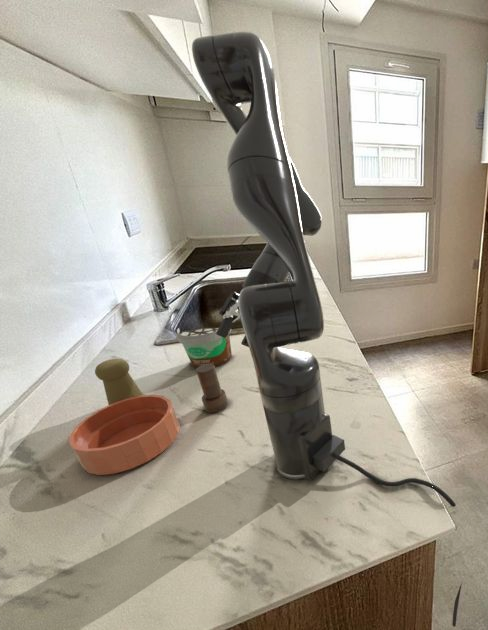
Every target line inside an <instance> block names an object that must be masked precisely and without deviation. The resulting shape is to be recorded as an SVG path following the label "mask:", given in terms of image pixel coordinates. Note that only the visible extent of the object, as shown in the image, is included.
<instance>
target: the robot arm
mask: <svg viewBox="0 0 488 630" xmlns="http://www.w3.org/2000/svg"><path fill="white" fill-rule="evenodd" d="M191 52H192V53H191V54H192V59H193V62H194V65H195V68H196V70H197V73H198V75H199V77H200V79H201V82H202V84H203V85H204V87H205V89H206V91H207V93H208V94H209V96H210V97H211V99H212V101H213V102H214V104H215V105H216V107H217V108H218V110H219V111H220V113H221V115H222V116H223V118H224V119H225V120H226V122H227V123H228V125H229V127H230V128H231V130H232V131H233V133H234V134H235V138H234V139H233V142H232V143H231V145H230V149H229V151H228V154H227V158H226V159H227V160H226V170H227V175H228V182H229V187H230V194H231V200H232V202H233V205H234V207H235V208H236V210H237V212H238V213H239V215H240V216H241V217H242V218H243V220H244V221H245V222H246V223H247V224H248V225H249V226H250V227H251V228H252V229H253V230H254V231H255V232H256V233H257V234H258V235H259V236H260V237H261V238H262V239H263V240H264V241H265V242H266V245H265V247H264V248H263V250H262V252H261V253H260V255H259V256H258V257H257V259H256V260H255V262H254V263H253V266H252V267H251V269H250V271H249V273H248V274H247V276H246V278H245V279H244V282H243V283H242V284H241V285H242V286H241V287H242V289H241V290H240V292H239V293H237V292H236V291H231V292H230V294H229V296H228V297H227V298H226V300H225V302H224V303H223V305H222V307H221V308H220V309H219V312H218V313H219V315H220V316H221V317H222V320H221V323H220V325H219V326H218V327H217V328H218V330H217V333H216V334H217V335H219V336H221V337H224V338H225V337H227V335H228V333H229V331H230V330H231V331H232V327H233V326H234V323H235V322H237V320H239V319H240V323H241V325H242V329H243V332H244V333H243V334H244V336H243V339H242V341H241V343H240V344H241V345H243V346H245V347H247V348H248V349H249V352H250V355H251V358H252V362H253V366H254V367H253V368H254V371H255V376H256V380H257V386H258V390H259V394H260V398H261V402H262V407H263V411H264V417H265V420H266V421H265V422H266V426H267V429H268V433H269V438H270V442H271V447H272V451H273V455H274V461H275V466H276V470H277V472H278V474H279V475H280V476H282V477H284V478H285V479H289V480H303V479H307V480H308V481H312V480H313V479H314V478H315V477H316V476H317V475H318V474H319V473H320V472H321V471H322V472H323V473H324V472H326V471H327V469H328V468H329V467H330V466H331V465H332V464H333V463H334V462H335V461H336V460H337V461H340V462H341V463H343V464H345V465H347V466H349V467H351V468H353V469H354V470H355V471H356V472H357V471H358V472H359V473H360V474H362V475H363V476H364V477H366V478H368V479H369V480H372V481H373V482H375V483H377V484H379V485H381V486H385V487H389V488H390V487H400V486H402V485H406V484H412V483H414V484H418V485H422V486H425V487H428V488H430V489H431V490H433V489H434V490H433V491H435V492H436V493H438V494H439V495H440V496H441V497H442V498H443V499H444V500H445V501H446V502H447V503H448V504H449V506H451V507H453V508H455V507H457V504H456V502H455V501H454V500H453V499H452V498H451V497H450V496H449V495H448V494H447V493H446V492H445V491H444V490H443V489H442V488H441V487H439V486H438V485H435V484H434V483H432V482H430V481H428V480H424V479H420V478H416V477H415V478H414V477H409V478H404V479H401V480H397V481H387V480H383V479H381V478H379V477H377V476H376V475H374V474H372V473H370V472H369V471H367V470H366V469H364V468H362V467H361V466H360V465H358V464H356V463H355V462H353V461H351V460H349V459H347V458H345V457H343V456H341V455H342V453H343V452H344V451H345V450H346V445H345V439H344V438H341V437H339V436H337V435H335V434H333V431H332V430H333V429H332V423H331V417H330V415H329V414H328V413H326V410H325V409H326V408H325V401H324V396H323V395H324V394H323V387H322V386H323V385H322V378H321V370H320V363H319V361H318V359H317V357H315V355H313V353H310V352H307V351H304V350H300V349H292V348H287V347H286V346H290V345H296V344H299V343H301V344H302V343H306V342H310V341H316V340H318V339H320V338H321V337H322V335H323V333H324V330H325V319H324V312H323V306H322V302H321V299H320V294H319V290H318V286H317V283H316V280H315V275H314V271H313V267H312V263H311V260H310V257H309V253H308V249H307V245H306V240H305V236H306V237H313V236H316V235H317V234H318V233H319V232H320V230H321V228H322V215H321V212H320V210H319V208H318V207H317V205H316V203H315V202H314V201H313V199H312V198H311V196H310V195H309V193H308V192H307V191H306V190H305V188H304V187H303V185H302V183H301V180H300V177H299V174H298V172H297V169H296V167H295V164H294V163H293V161H292V159H291V157H290V156H289V153H288V149H287V145H286V140H285V138H284V137H285V136H284V132H283V127H282V125H283V124H282V120H281V111H280V103H279V96H278V95H279V94H278V87H277V81H276V75H275V69H274V66H273V62H272V59H271V56H270V54H269V53H270V52H269V51H268V49H267V47H266V45H265V43H264V42H263V40H262V39H261V37H259V35H257V34H256V33H254V32H250V31H234V32H227V33H220V34H212V35H205V36H200V37H196V38H194V39H193V41H192V44H191ZM244 104H250V105H249V110H248V113H247V114H246V113H245V111H244V109H243V108H242V106H241V105H244ZM289 275H290V277H291V280H289V281H286V280H287V279H288V277H289ZM228 309H229V310H228ZM227 310H228V311H227ZM229 334H230V333H229ZM432 486H433V487H432ZM462 585H463V582H461V583H460V586H459V589H458V590H457V594H456V597H455V600H454V605H453V606H454V607H453V611H452V612H453V613H452V624H451V625H452V627H453V628H456V626H457V616H458V608H459V602H460V596H461V589H462Z"/></svg>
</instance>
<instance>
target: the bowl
mask: <svg viewBox="0 0 488 630" xmlns="http://www.w3.org/2000/svg"><path fill="white" fill-rule="evenodd" d="M180 429H181V425H180V422H179V419H178V417H177V414H176V412H175V409H174V406H173V404H172V401H171V399H169V398H167V397H166V396H164V395H159V394H143V395H141V396H137V397H132V398H127V399H124V400H121V401H119V402H116V403H113V404H111V405H109V404H108V405H107V406H104V407H102V408H99V409H98V410H96V411H95V412H93V413H91V414H90V415H88V416H86V417H85V418H83V419H82V421H81V422H79V423H78V424H77V425H76V426H75V427H74V428H73V430H72V431H71V433H70V434H69V436H68V446H69V447H70V449H71V450H72V453H73V454H74V456H75V458H76V459H77V461H78V463H79V464H80V466H81V468H82V469H83V470H84V471H85V472H86V473H88V474H92V475H97V476H103V475H115V474H118V473H122V472H125V471H130V470H131V469H134V468H136V467H138V466H141V465H143V464H145V463H147V462H149V461H151V460H152V459H153V458H155V457H158V455H160V454H161V453H163V452H164V451H165V450H166V449H167V448H168V447H170V446H171V445H172V444H173V443H174V441H175V440H176V438H177V437H178V435H179V433H180Z"/></svg>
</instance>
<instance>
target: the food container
mask: <svg viewBox="0 0 488 630" xmlns="http://www.w3.org/2000/svg"><path fill="white" fill-rule="evenodd" d="M218 328H219V327H201V328H195V329H189V330H180V327H178V328H177V329H176V342H178V343H179V344H181V345H182V346H183V348H184V350H185V353H186V354H187V357H188V359H189V361H190V363H191V365H192V367H193V368H195V369H197V368H198V367H199V366H201V365H204V364H213V365H214V367H215V368H217V367H220V366H222V365H225V364H226V363H227V362H229V361H230V360H231V359H232V358H233V354H232V345H231V338H230V333H231V332H232V329H231V330H230V331H229V333H228V335H227V337H225V338H224V337H221V336H219V335H217V334H216V333H217V330H218Z"/></svg>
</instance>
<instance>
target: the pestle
mask: <svg viewBox="0 0 488 630" xmlns="http://www.w3.org/2000/svg"><path fill="white" fill-rule="evenodd" d="M195 369H196V370H195V371H196V374H197V378H198V380H199V384H200V387H201V390H202V393H203V395H202V396H201V401H202V405H203V407H204V410H205V412H206V413H208V414H216V413H218V412H221V411H223V410H224V409H226V408H227V407H228V405H229V401H228V397H227V392H226V390H224V389H222V387H221V385H220V380H219V377H218V374H217V371H216V367H214V365H213V364H204V365H201V366H199V367H198V368H195Z"/></svg>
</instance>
